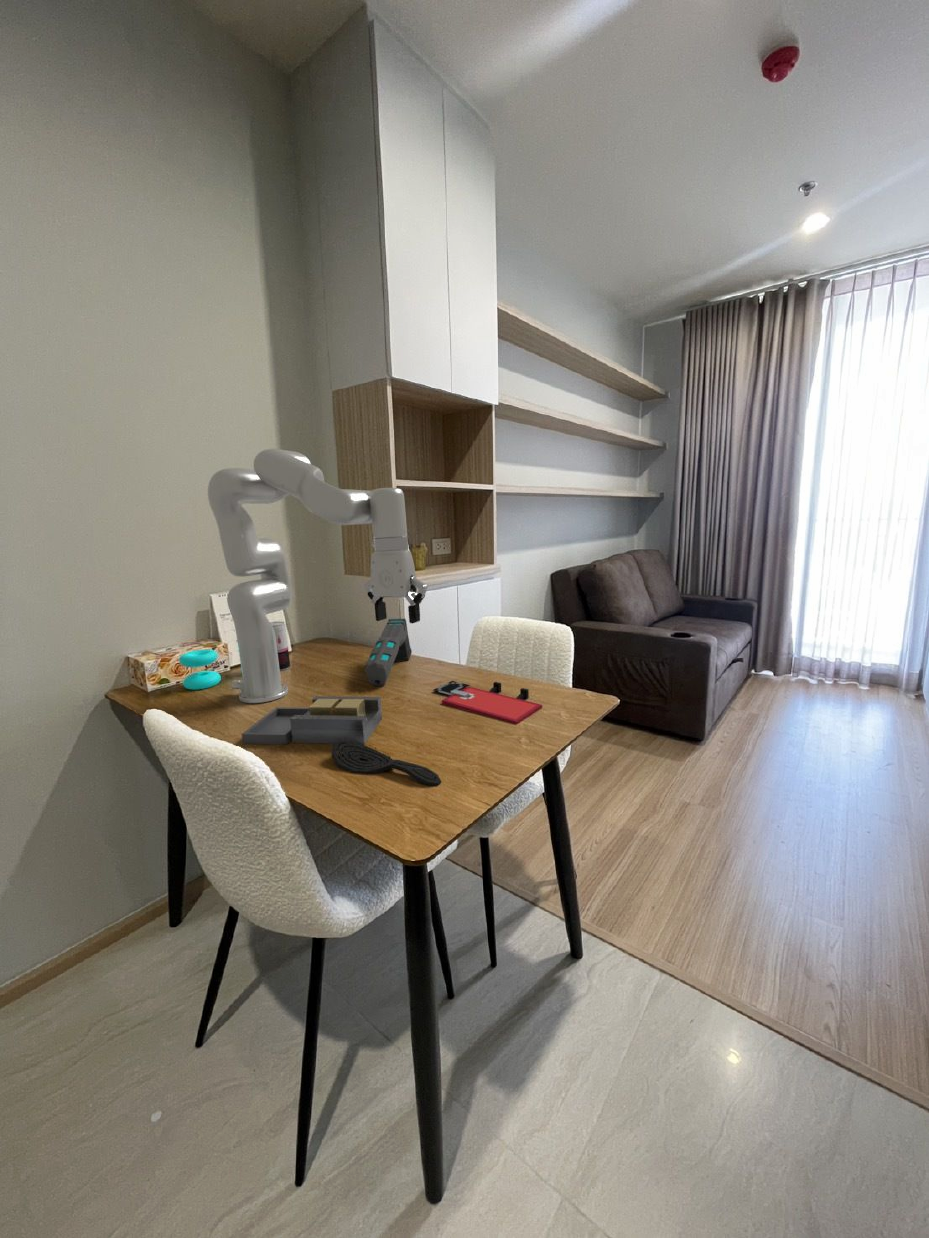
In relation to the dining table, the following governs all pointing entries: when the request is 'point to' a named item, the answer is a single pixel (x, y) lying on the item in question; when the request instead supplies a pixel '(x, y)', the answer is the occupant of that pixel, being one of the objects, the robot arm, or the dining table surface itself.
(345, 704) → the brass chip
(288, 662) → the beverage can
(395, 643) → the gun
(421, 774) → the hairbrush
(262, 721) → the chip tray
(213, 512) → the robot arm
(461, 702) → the red board with handle
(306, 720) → the slot block
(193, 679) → the donuts
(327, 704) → the brass chip
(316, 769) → the dining table surface
